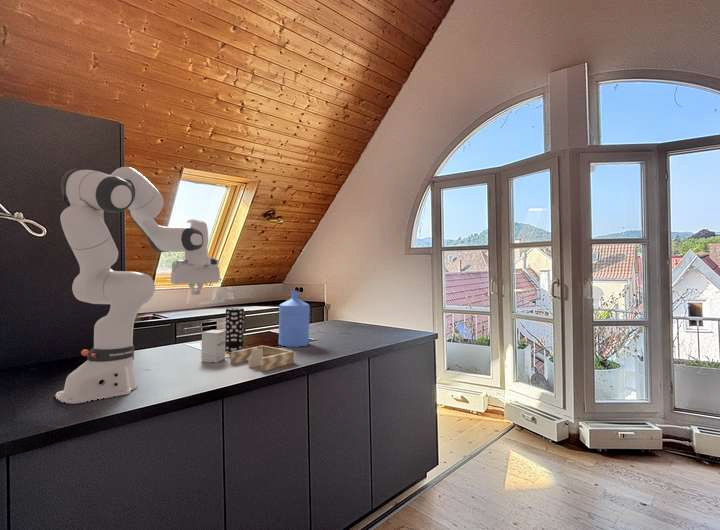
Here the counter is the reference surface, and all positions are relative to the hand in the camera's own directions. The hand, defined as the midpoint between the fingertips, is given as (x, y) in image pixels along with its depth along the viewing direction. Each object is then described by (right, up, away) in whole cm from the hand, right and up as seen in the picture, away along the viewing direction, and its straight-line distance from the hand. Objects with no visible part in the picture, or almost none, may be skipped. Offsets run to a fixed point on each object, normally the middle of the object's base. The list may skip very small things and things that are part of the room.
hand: (195, 294), depth 170 cm
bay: (+25, -30, +7) cm, 39 cm away
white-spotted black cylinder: (+6, -29, +31) cm, 43 cm away
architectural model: (+23, -30, +3) cm, 38 cm away
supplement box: (+3, -29, +11) cm, 31 cm away
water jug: (+32, -30, +48) cm, 65 cm away
